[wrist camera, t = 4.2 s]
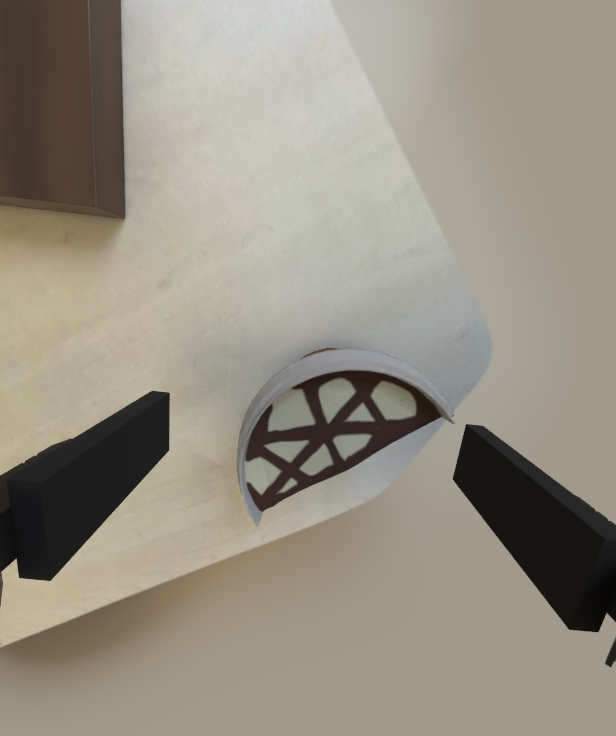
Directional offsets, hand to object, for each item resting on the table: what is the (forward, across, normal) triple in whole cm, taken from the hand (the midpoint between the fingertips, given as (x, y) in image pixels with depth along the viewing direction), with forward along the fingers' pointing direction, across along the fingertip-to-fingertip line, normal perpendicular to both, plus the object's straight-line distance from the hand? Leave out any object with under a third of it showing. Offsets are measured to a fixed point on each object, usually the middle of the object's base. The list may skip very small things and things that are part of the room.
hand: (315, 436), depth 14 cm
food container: (+11, 0, 0) cm, 11 cm away
